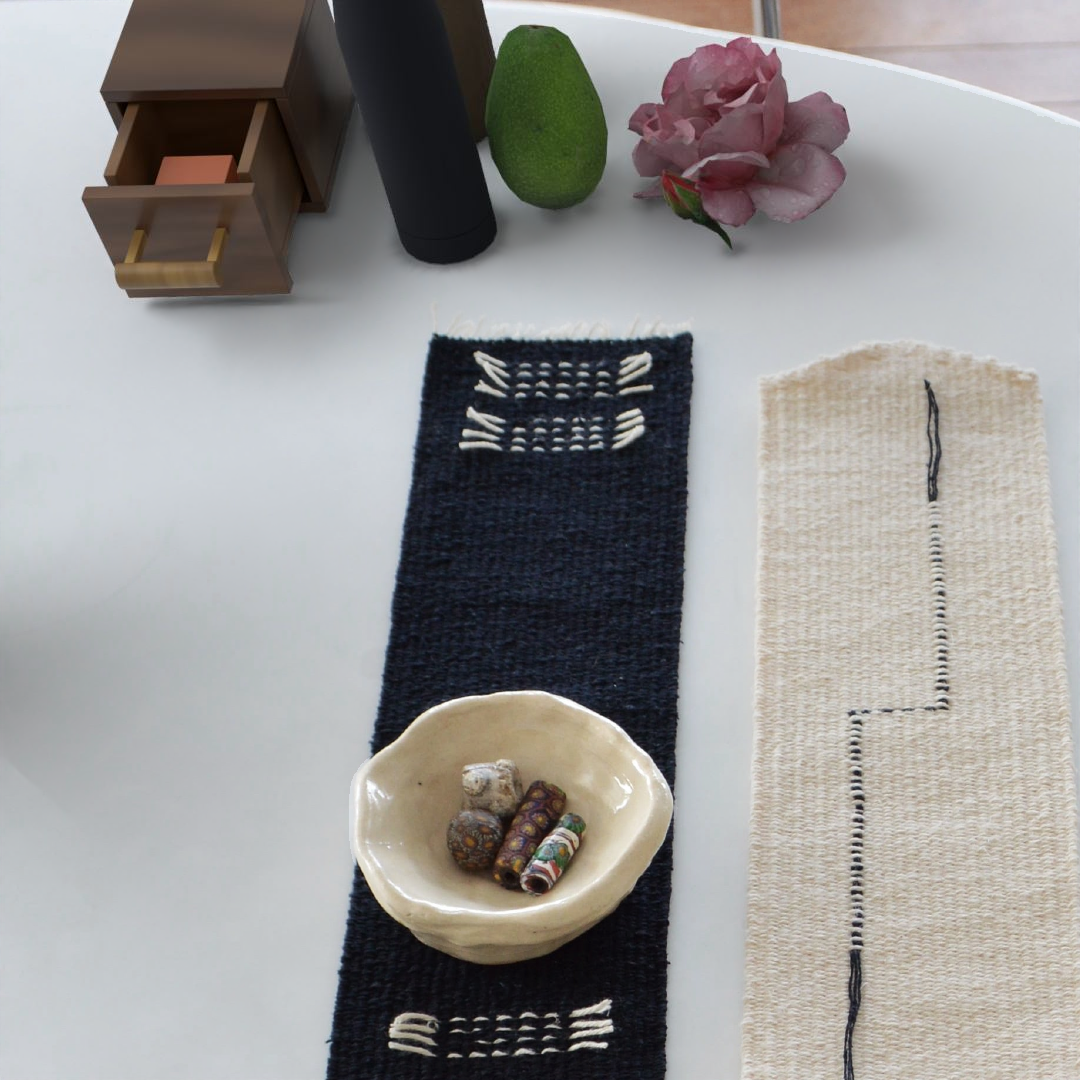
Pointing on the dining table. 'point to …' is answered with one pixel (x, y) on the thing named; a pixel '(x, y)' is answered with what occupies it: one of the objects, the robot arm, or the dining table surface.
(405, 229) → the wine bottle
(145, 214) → the drawer
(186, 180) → the block
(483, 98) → the pillar candle
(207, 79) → the cabinet
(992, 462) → the dining table surface
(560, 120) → the fruit
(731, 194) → the flower
